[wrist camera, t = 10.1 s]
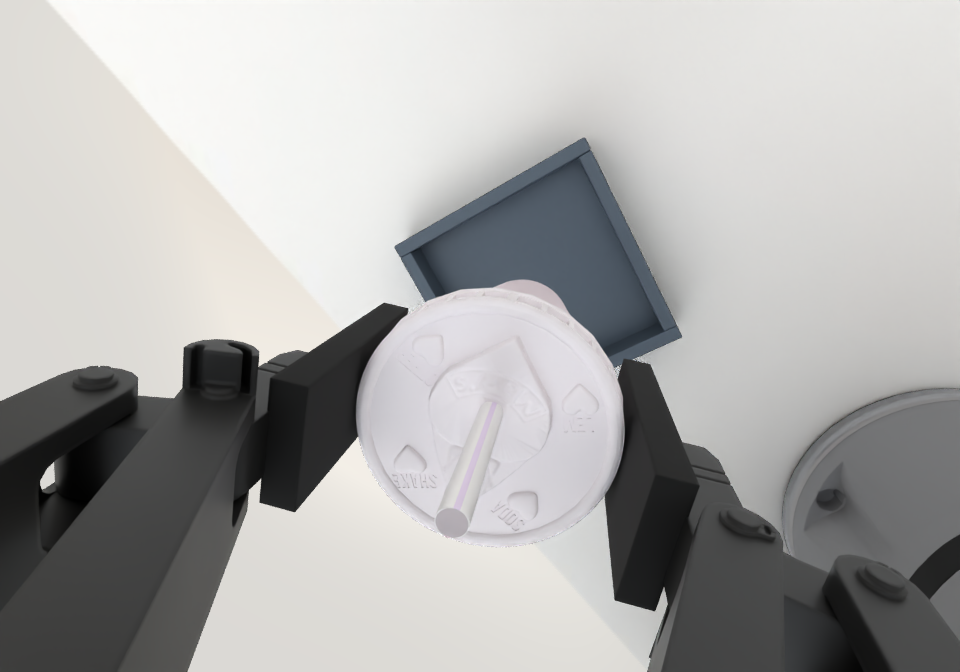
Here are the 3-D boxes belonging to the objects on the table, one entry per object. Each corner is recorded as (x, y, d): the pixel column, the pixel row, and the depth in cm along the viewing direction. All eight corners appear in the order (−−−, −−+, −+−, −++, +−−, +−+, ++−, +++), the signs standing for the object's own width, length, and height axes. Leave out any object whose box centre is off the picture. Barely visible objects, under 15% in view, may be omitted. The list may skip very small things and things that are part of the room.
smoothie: (631, 276, 21) (730, 449, 8) (571, 423, 23) (566, 767, 9) (469, 221, 21) (292, 294, 8) (424, 370, 23) (223, 630, 10)
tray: (674, 325, 32) (682, 337, 29) (498, 405, 35) (493, 422, 32) (583, 139, 30) (584, 136, 27) (406, 241, 33) (393, 246, 30)
